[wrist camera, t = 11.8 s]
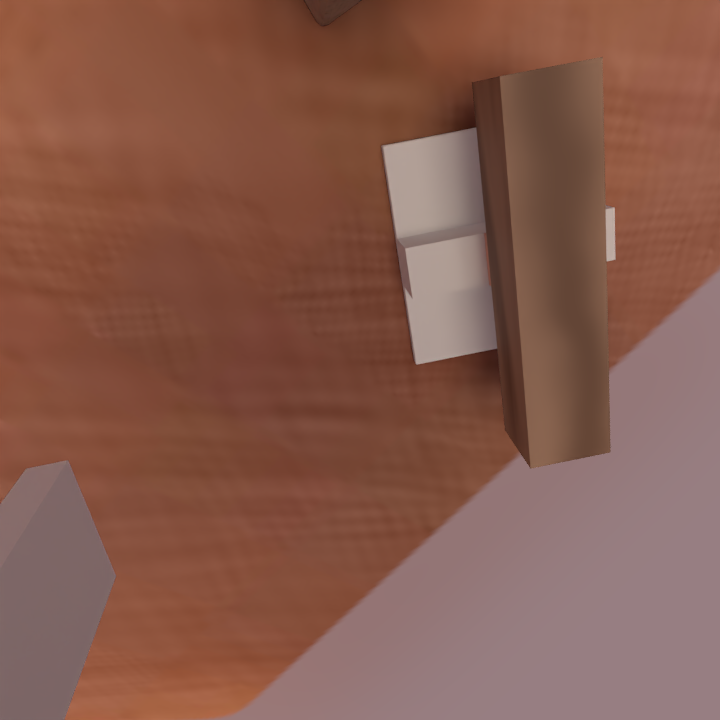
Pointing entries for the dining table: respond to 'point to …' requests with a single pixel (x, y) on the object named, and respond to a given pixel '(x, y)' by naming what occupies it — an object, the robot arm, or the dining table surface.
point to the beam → (548, 255)
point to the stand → (445, 243)
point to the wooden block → (329, 9)
